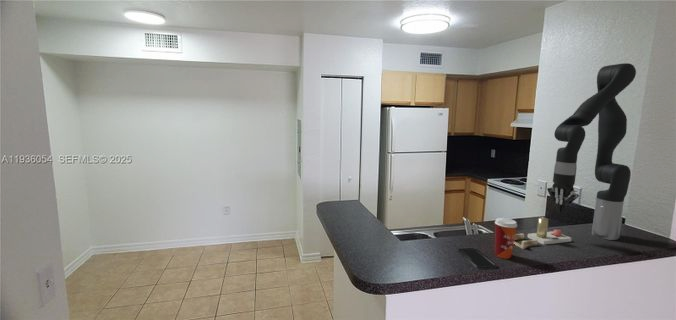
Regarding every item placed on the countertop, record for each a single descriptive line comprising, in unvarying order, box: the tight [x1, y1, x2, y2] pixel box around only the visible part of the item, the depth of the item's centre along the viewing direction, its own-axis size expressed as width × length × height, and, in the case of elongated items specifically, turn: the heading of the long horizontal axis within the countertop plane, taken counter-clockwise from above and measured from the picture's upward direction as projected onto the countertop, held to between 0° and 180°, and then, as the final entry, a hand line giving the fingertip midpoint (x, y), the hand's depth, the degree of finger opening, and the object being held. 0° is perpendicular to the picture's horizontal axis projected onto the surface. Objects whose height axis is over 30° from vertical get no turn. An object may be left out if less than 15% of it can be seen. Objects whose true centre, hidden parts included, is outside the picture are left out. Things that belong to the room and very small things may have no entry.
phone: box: [458, 247, 498, 270], centre depth 117 cm, size 8×1×15 cm
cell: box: [536, 216, 549, 238], centre depth 132 cm, size 4×4×8 cm
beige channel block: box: [514, 233, 539, 250], centre depth 131 cm, size 7×8×3 cm
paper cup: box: [494, 217, 518, 260], centre depth 119 cm, size 8×8×14 cm
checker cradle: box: [527, 230, 572, 245], centre depth 134 cm, size 14×8×3 cm, turn 104°
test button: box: [553, 229, 563, 237], centre depth 135 cm, size 3×3×4 cm
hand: (559, 212), depth 133 cm, fingers closed
